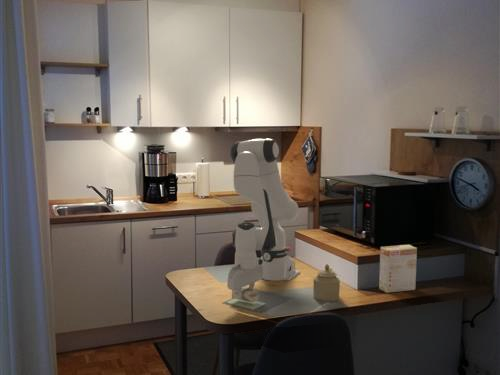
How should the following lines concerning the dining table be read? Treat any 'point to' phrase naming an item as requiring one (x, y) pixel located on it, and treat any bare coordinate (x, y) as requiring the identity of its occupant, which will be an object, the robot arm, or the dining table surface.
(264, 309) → the rubber mat
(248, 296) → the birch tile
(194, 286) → the dining table surface
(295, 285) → the dining table surface
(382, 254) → the coffeecake box
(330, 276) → the sugar bowl
